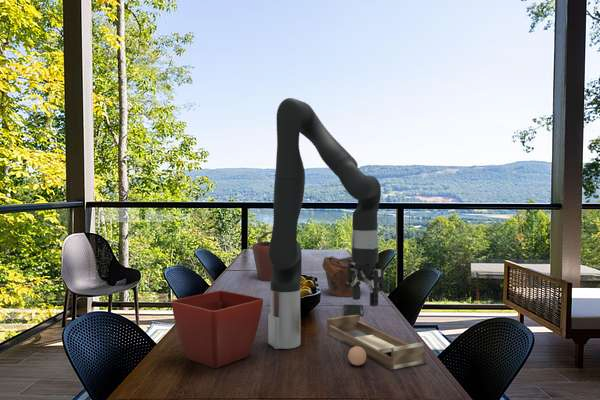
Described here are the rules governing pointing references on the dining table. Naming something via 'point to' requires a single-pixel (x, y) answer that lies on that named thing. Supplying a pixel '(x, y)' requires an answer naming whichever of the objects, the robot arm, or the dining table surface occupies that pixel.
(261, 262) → the bucket
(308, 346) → the dining table surface
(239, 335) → the plant pot
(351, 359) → the ball
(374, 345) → the track
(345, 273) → the terracotta flower pot
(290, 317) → the robot arm
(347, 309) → the phone
